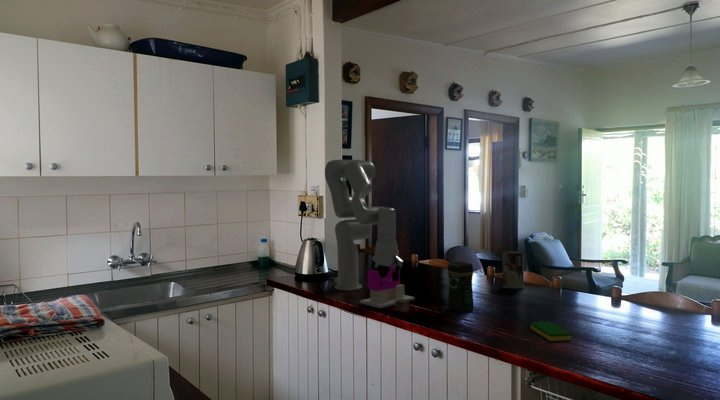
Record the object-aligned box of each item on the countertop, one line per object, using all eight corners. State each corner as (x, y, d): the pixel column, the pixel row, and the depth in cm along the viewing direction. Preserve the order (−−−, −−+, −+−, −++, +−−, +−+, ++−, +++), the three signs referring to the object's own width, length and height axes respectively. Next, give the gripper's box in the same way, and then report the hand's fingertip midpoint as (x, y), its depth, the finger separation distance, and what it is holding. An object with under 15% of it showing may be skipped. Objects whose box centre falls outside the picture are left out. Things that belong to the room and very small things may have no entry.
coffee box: (524, 286, 238) (524, 251, 238) (523, 289, 232) (523, 253, 232) (503, 285, 242) (503, 250, 241) (502, 287, 236) (502, 252, 235)
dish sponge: (550, 342, 161) (550, 334, 161) (529, 329, 175) (529, 322, 175) (571, 341, 162) (571, 333, 162) (549, 328, 176) (549, 321, 176)
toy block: (378, 291, 207) (377, 272, 206) (367, 288, 211) (367, 270, 211) (404, 285, 217) (404, 267, 216) (393, 283, 221) (393, 265, 221)
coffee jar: (477, 310, 198) (477, 262, 197) (462, 313, 194) (461, 264, 193) (459, 305, 206) (459, 259, 205) (444, 308, 202) (444, 261, 201)
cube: (395, 311, 200) (394, 300, 199) (400, 308, 203) (399, 298, 203) (404, 312, 197) (404, 302, 197) (409, 310, 201) (408, 299, 200)
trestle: (360, 303, 212) (359, 288, 212) (394, 294, 226) (394, 281, 225) (380, 308, 203) (380, 293, 203) (414, 299, 217) (414, 285, 216)
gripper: (365, 237, 217) (366, 277, 218) (395, 240, 204) (395, 283, 205) (378, 235, 222) (379, 275, 223) (408, 238, 209) (408, 280, 210)
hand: (387, 279), depth 214 cm, fingers open, 9 cm apart
